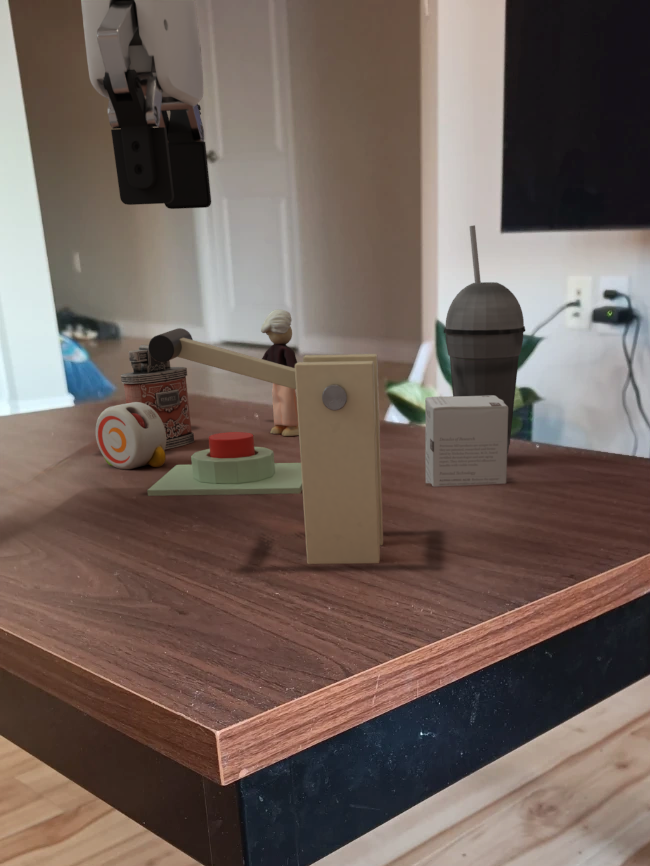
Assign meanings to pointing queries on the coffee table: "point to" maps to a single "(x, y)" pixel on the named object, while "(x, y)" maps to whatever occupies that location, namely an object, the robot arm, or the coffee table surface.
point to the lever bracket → (340, 457)
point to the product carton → (466, 440)
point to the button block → (230, 476)
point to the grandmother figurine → (282, 354)
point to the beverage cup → (485, 339)
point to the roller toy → (131, 436)
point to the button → (231, 445)
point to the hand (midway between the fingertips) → (169, 205)
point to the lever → (218, 358)
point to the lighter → (160, 394)
